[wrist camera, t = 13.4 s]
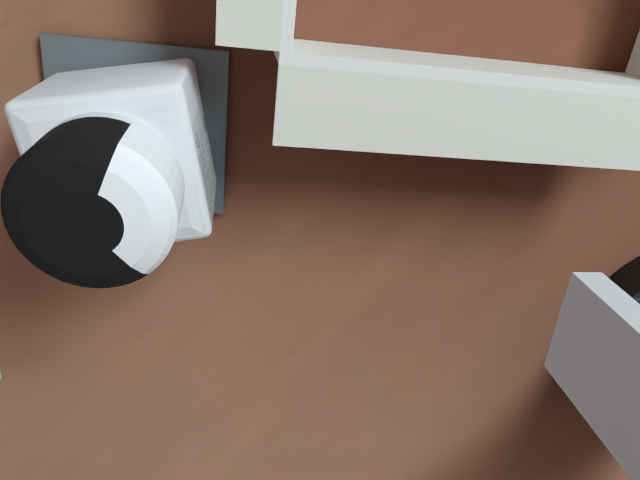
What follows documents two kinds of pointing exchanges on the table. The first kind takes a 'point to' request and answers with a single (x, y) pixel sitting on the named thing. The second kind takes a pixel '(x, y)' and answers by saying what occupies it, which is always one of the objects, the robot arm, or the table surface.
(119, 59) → the mat
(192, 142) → the container
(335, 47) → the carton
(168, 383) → the table surface
